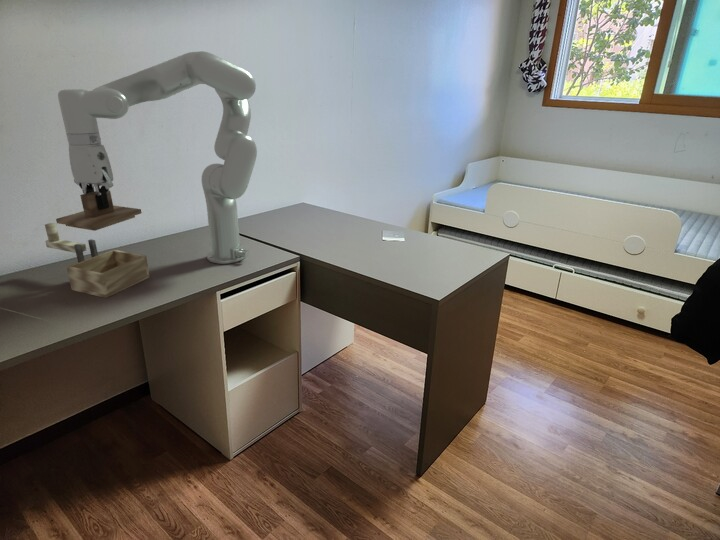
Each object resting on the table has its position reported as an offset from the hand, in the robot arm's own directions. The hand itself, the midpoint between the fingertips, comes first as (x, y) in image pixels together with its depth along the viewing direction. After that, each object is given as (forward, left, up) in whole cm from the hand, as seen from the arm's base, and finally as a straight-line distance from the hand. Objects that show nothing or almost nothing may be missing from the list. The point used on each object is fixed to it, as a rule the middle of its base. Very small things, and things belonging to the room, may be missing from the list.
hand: (98, 207), depth 129 cm
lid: (0, 0, -3) cm, 3 cm away
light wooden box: (+1, 0, -23) cm, 23 cm away
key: (+16, 0, -14) cm, 22 cm away
